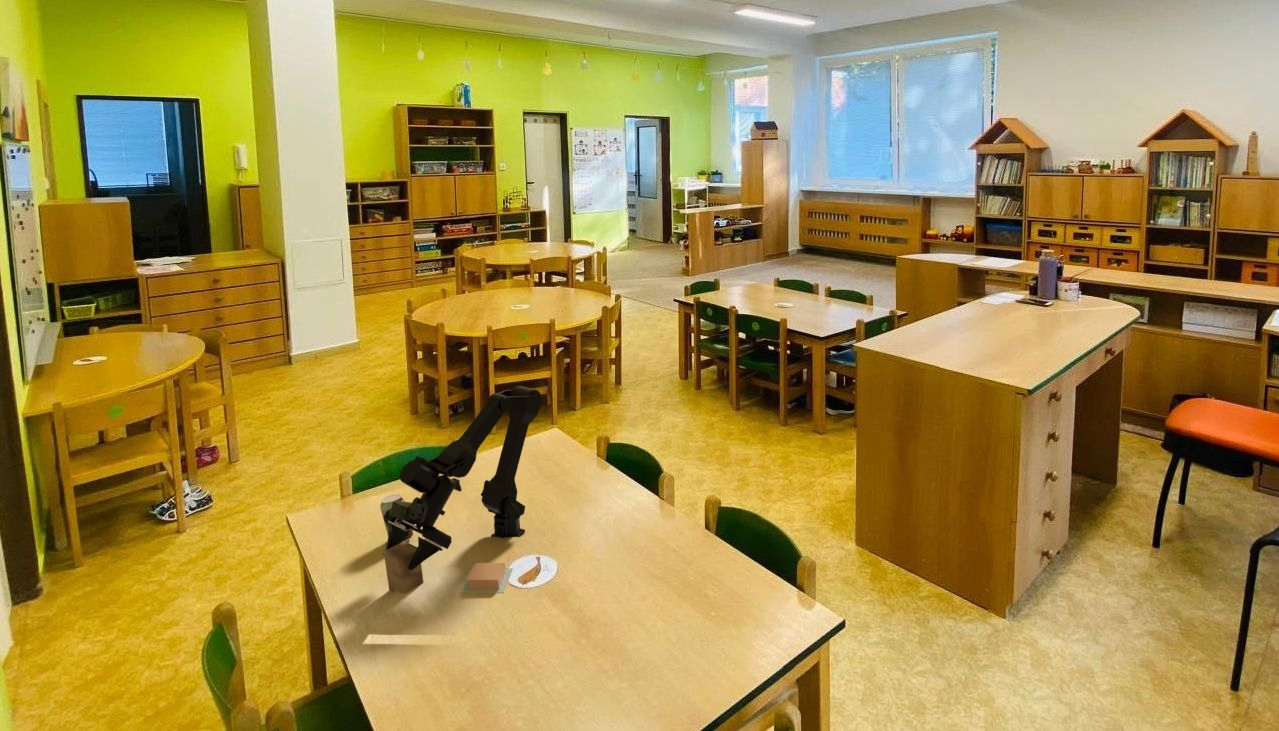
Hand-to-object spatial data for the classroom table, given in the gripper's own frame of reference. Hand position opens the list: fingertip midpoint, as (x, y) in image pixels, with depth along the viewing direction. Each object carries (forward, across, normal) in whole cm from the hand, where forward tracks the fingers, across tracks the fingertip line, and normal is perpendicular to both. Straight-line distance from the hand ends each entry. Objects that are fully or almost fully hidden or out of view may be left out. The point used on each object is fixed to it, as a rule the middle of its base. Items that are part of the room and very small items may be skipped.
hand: (397, 563), depth 172 cm
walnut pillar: (+4, 0, +6) cm, 7 cm away
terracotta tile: (-5, +14, +14) cm, 20 cm away
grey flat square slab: (-4, +14, +15) cm, 21 cm away
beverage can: (-4, -21, +15) cm, 26 cm away
